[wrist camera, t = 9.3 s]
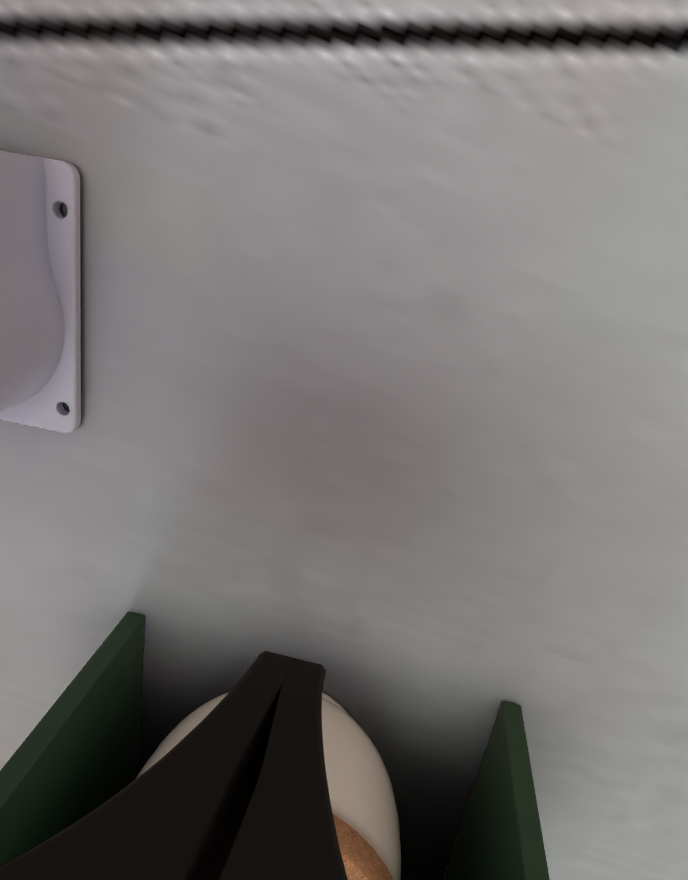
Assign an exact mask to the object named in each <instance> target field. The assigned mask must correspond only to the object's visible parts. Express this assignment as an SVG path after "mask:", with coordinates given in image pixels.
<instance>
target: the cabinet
mask: <svg viewBox="0 0 688 880" xmlns="http://www.w3.org/2000/svg"><path fill="white" fill-rule="evenodd" d="M144 622H145V616H143V615H139V614H135V613H131V612H127V614H126V615H125V616H124V617H123V619H122V620H121V621H120V622H119V624H118V625H117V626H116V627H115V629H114V630H113V631H112V632H111V634H110V635H109V636H108V637H107V639H106V640H105V641H104V642H103V644H102V645H101V646H100V647H99V649H98V650H97V651H96V652H95V654H94V655H93V656H92V657H91V659H90V660H89V661H88V662H87V664H86V665H85V666H84V667H83V669H82V670H81V671H80V672H79V673H78V675H77V676H76V677H75V678H74V680H73V681H72V682H71V683H70V685H69V686H68V687H67V688H66V690H65V691H64V692H63V693H62V695H61V696H60V697H59V698H58V700H57V701H56V702H55V703H54V705H53V706H52V707H51V708H50V710H49V711H48V712H47V713H46V715H45V716H44V717H43V718H42V720H41V721H40V722H39V723H38V725H37V726H36V727H35V728H34V730H33V731H32V732H31V733H30V735H29V736H28V737H27V738H26V740H25V741H24V742H23V743H22V745H21V746H20V747H19V748H18V750H17V751H16V752H15V753H14V755H13V756H12V757H11V758H10V759H9V761H8V762H7V763H6V764H5V766H4V767H3V768H2V769H1V771H0V867H2V866H4V865H6V864H7V863H9V862H11V861H13V860H15V859H17V858H18V857H20V856H22V855H23V854H25V853H27V852H29V851H30V850H32V849H34V848H35V847H37V846H38V845H40V844H42V843H43V842H45V841H46V840H48V839H50V838H51V837H53V836H55V835H56V834H58V833H59V832H61V831H63V830H64V829H66V828H67V827H69V826H71V825H72V824H74V823H76V822H77V821H79V820H80V819H82V818H83V817H85V816H86V815H87V814H89V813H90V812H92V811H93V810H95V809H96V808H98V807H99V806H100V805H102V804H103V803H104V802H106V801H107V800H109V799H110V798H111V797H113V796H114V795H115V794H117V793H118V792H120V791H121V790H122V789H124V788H125V787H126V786H128V785H129V784H130V783H132V782H133V781H134V780H135V779H136V777H137V776H138V755H139V733H140V711H141V688H142V666H143V644H144ZM443 880H549V874H548V868H547V862H546V856H545V850H544V844H543V837H542V831H541V825H540V819H539V813H538V807H537V801H536V795H535V789H534V783H533V777H532V771H531V765H530V759H529V753H528V746H527V740H526V734H525V728H524V722H523V716H522V710H521V706H520V705H516V704H512V703H508V702H502V704H501V707H500V710H499V713H498V716H497V719H496V722H495V725H494V728H493V731H492V734H491V737H490V740H489V743H488V746H487V749H486V752H485V755H484V758H483V761H482V764H481V767H480V770H479V773H478V776H477V779H476V782H475V785H474V788H473V791H472V794H471V797H470V800H469V803H468V806H467V809H466V812H465V815H464V818H463V821H462V824H461V827H460V830H459V833H458V836H457V839H456V842H455V845H454V848H453V852H452V855H451V858H450V861H449V864H448V867H447V870H446V873H445V876H444V879H443Z"/></svg>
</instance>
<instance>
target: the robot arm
mask: <svg viewBox="0 0 688 880" xmlns="http://www.w3.org/2000/svg"><path fill="white" fill-rule="evenodd" d="M62 203H64V204H65V205H66V206H67V210H68V212H67V216H66V217H63V215H62V214H61V212H60V205H61V204H62ZM63 402H64V403H66V404H67V405H68V406H69V410H70V411H69V412H67V411H66V410H65V409H64V408H63V405H62V404H63ZM0 420H5V421H10V422H14V423H19V424H24V425H28V426H33V427H38V428H42V429H47V430H52V431H57V432H61V433H70V432H72V431H74V430H76V429H77V428H78V427H79V426H80V422H81V309H80V176H79V173H78V171H77V169H76V167H74V166H73V165H72V164H71V163H69V162H66V161H61V160H55V159H49V158H44V157H38V156H32V155H26V154H20V153H14V152H9V151H3V150H0ZM325 673H326V670H325V669H324V667H323V666H322V665H320V664H316V663H312V662H308V661H304V660H300V659H296V658H292V657H288V656H284V655H280V654H276V653H271V652H267V651H265V652H263V653H261V654H260V655H259V656H258V658H257V659H256V660H255V662H254V663H253V664H252V666H251V667H250V668H249V669H248V671H247V672H246V673H245V674H244V676H243V677H242V678H241V679H240V680H239V682H238V683H237V684H236V685H235V686H234V687H233V688H232V690H231V691H230V692H229V693H228V694H227V695H226V696H225V697H224V698H223V699H222V700H221V701H220V703H219V704H218V705H217V706H216V707H215V708H214V709H213V710H212V711H211V712H210V713H209V714H208V715H207V716H206V717H205V718H204V719H203V720H202V721H201V722H200V723H199V724H198V725H197V726H196V727H195V728H194V729H193V730H192V731H191V732H190V733H189V734H187V735H186V736H185V737H184V738H183V739H182V740H181V741H180V742H179V743H178V744H177V745H176V746H175V747H174V748H172V749H171V750H170V751H169V752H168V753H167V754H166V755H165V756H163V757H162V758H161V759H160V760H159V761H158V762H156V763H155V764H154V765H153V766H152V767H150V768H149V769H148V770H147V771H145V772H144V773H143V774H142V775H140V776H139V777H138V778H137V779H135V780H134V781H133V782H132V783H130V784H129V785H128V786H126V787H125V788H124V789H122V790H121V791H120V792H118V793H117V794H115V795H114V796H113V797H111V798H110V799H109V800H107V801H106V802H104V803H103V804H102V805H100V806H99V807H98V808H96V809H95V810H93V811H92V812H90V813H89V814H87V815H86V816H85V817H83V818H82V819H80V820H79V821H77V822H76V823H74V824H72V825H71V826H69V827H67V828H66V829H64V830H63V831H61V832H59V833H58V834H56V835H55V836H53V837H51V838H50V839H48V840H46V841H45V842H43V843H42V844H40V845H38V846H37V847H35V848H34V849H32V850H30V851H29V852H27V853H25V854H23V855H22V856H20V857H18V858H17V859H15V860H13V861H11V862H9V863H7V864H6V865H4V866H2V867H0V880H348V879H347V875H346V871H345V867H344V863H343V859H342V855H341V851H340V847H339V842H338V837H337V833H336V828H335V823H334V818H333V813H332V808H331V802H330V796H329V789H328V782H327V776H326V768H325V759H324V747H323V735H322V690H323V684H324V678H325Z"/></svg>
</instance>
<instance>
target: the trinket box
mask: <svg viewBox="0 0 688 880" xmlns="http://www.w3.org/2000/svg"><path fill="white" fill-rule="evenodd" d="M228 693H229V692H228ZM228 693H225V694H223V695H221V696H218V697H216V698H214V699H212V700H210V701H208V702H207V703H205V704H204V705H202V706H200V707H199V708H197V709H196V710H195V711H193V712H192V713H191V714H189V715H188V716H187V717H186V718H185V719H184V720H182V721H181V722H180V723H179V724H178V725H177V726H176V727H175V728H174V729H173V730H172V731H171V732H170V733H169V735H168V736H167V737H166V738H165V739H164V740H163V741H162V742H161V744H160V745H159V746H158V748H157V749H156V750H155V752H154V753H153V754H152V756H151V757H150V759H149V760H148V761H147V763H146V764H145V766H144V767H143V768H142V770H141V771H140V773H139V774H138V776H137V777H136V779H137V778H138V777H139V776H140V775H142V774H143V773H144V772H145V771H147V770H148V769H149V768H150V767H152V766H153V765H154V764H155V763H156V762H158V761H159V760H160V759H161V758H162V757H163V756H165V755H166V754H167V753H168V752H169V751H170V750H171V749H172V748H174V747H175V746H176V745H177V744H178V743H179V742H180V741H181V740H182V739H183V738H184V737H185V736H186V735H187V734H189V733H190V732H191V731H192V730H193V729H194V728H195V727H196V726H197V725H198V724H199V723H200V722H201V721H202V720H203V719H204V718H205V717H206V716H207V715H208V714H209V713H210V712H211V711H212V710H213V709H214V708H215V707H216V706H217V705H218V704H219V703H220V701H221V700H222V699H223V698H224V697H225V696H226V695H227V694H228ZM322 735H323V747H324V759H325V768H326V776H327V782H328V789H329V796H330V802H331V808H332V813H333V818H334V823H335V828H336V833H337V837H338V842H339V847H340V851H341V855H342V859H343V863H344V867H345V871H346V875H347V879H348V880H401V848H400V832H399V818H398V812H397V807H396V801H395V796H394V792H393V788H392V785H391V781H390V778H389V776H388V773H387V770H386V767H385V765H384V763H383V761H382V759H381V757H380V754H379V753H378V751H377V749H376V748H375V746H374V744H373V743H372V741H371V740H370V738H369V737H368V736H367V734H366V733H365V731H364V730H363V729H362V728H361V727H360V726H359V725H358V724H357V723H356V722H355V721H354V720H353V719H352V718H351V717H350V716H349V714H348V713H347V712H346V711H345V709H344V708H343V707H342V706H341V705H340V704H339V703H337V702H336V701H335V700H334V699H333V698H331V697H330V696H328V695H326V694H325V693H323V692H322Z"/></svg>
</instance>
